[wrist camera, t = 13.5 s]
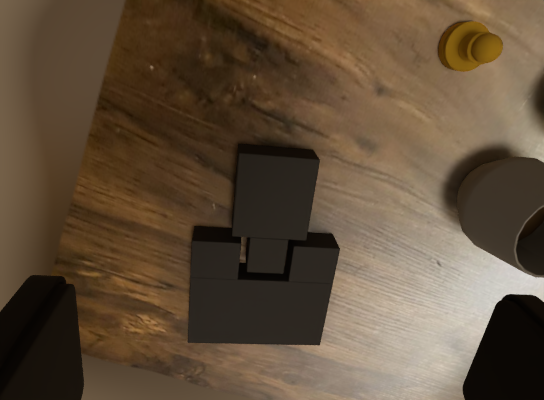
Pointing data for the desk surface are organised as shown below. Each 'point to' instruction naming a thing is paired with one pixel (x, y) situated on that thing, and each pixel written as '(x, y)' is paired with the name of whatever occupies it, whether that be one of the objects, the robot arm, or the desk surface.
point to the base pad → (259, 291)
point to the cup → (506, 211)
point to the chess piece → (468, 46)
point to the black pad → (272, 202)
